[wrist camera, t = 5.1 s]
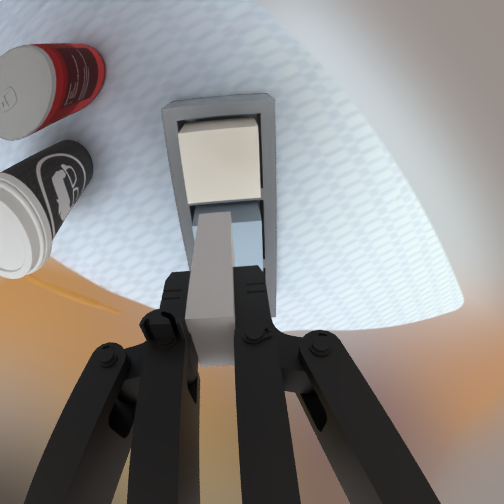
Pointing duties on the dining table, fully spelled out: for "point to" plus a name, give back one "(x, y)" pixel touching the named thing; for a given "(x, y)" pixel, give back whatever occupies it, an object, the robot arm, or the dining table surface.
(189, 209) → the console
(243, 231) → the key blue
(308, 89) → the dining table surface
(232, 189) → the key ivory
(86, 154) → the coffee cup
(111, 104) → the dining table surface
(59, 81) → the canned food
